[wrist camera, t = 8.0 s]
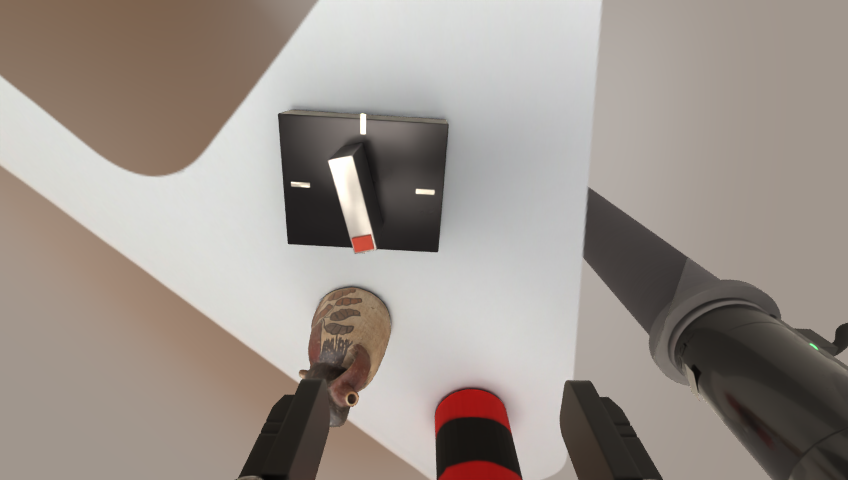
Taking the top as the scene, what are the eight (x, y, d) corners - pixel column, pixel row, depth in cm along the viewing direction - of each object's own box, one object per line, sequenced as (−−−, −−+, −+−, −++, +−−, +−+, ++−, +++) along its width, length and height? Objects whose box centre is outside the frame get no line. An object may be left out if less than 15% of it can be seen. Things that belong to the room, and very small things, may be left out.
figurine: (300, 308, 38) (250, 406, 27) (362, 272, 36) (335, 360, 25) (346, 360, 40) (316, 470, 29) (405, 328, 39) (398, 431, 28)
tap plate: (446, 114, 31) (449, 119, 28) (436, 242, 35) (437, 257, 32) (290, 104, 31) (276, 108, 28) (298, 234, 35) (287, 249, 32)
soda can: (517, 424, 44) (549, 544, 32) (455, 449, 45) (466, 573, 34) (486, 375, 41) (508, 488, 30) (421, 404, 43) (420, 522, 31)
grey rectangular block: (341, 146, 29) (326, 160, 25) (362, 142, 29) (351, 155, 25) (363, 229, 32) (353, 255, 27) (383, 225, 32) (376, 251, 27)
